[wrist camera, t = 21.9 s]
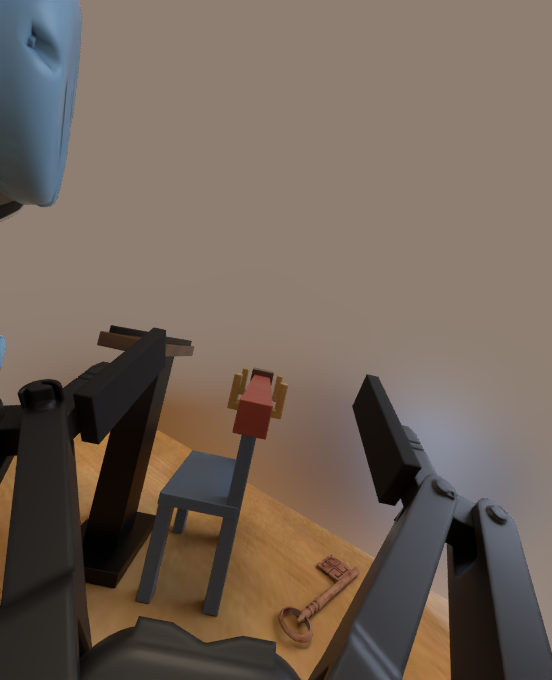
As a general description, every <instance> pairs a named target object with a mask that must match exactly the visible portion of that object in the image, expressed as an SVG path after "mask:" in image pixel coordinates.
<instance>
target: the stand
mask: <svg viewBox="0 0 552 680" xmlns="http://www.w3.org/2000/svg"><path fill="white" fill-rule="evenodd" d="M147 333H148V332H146V331H141V330H135V329H130V328H124V327H118V326H113V325H111V327H110V331H109V332H104V331H101V332H100V335H99V339H98V343H97V345H99V346H104V347H109V348H113V349H118V350H123V351H126V350H127V349H128V348H129V347H131V346H132V345H133V344H134V343H136V342H137V341H138V340H139V339H140V338H142V337H143V336H144V335H145V334H147ZM191 342H192V341H189V340H184V339H178V338H172V337H166V361H165V367H164V368H163V369H162V371H161V372H160V373H159V374H158V375H157V377H156V378H155V379H154V380H153V381H152V382H151V384H150V385H149V386H148V387H147V388H146V389H145V391H144V392H143V393H142V394H141V395H140V397H139V398H138V399H137V400H136V401H135V402H134V404H133V405H132V406H131V407H130V408H129V410H128V411H127V412H126V413H125V414H124V415H123V417H122V418H121V419H120V420H119V421H118V422H117V424H116V425H115V426H114V427H113V428H112V430H111V431H110V435H109V439H108V443H107V447H106V451H105V455H104V459H103V463H102V467H101V471H100V475H99V479H98V483H97V487H96V491H95V495H94V499H93V503H92V507H91V511H90V515H89V518H88V519H87V520H86V521H85V522H84V523H83V524H82V525H81V537H82V550H83V563H84V575H85V582H86V583H91V584H96V585H102V586H107V587H112V588H115V587H116V585H117V584H118V582H119V581H120V579H121V578H122V576H123V574H124V573H125V571H126V570H127V568H128V567H129V565H130V564H131V562H132V561H133V559H134V558H135V556H136V554H137V553H138V551H139V550H140V548H141V547H142V545H143V544H144V542H145V541H146V539H147V537H148V536H149V534H150V533H151V531H152V530H153V526H154V521H155V517H156V515H151V514H146V513H141V512H137V509H138V505H139V500H140V496H141V492H142V488H143V484H144V480H145V475H146V471H147V467H148V463H149V459H150V455H151V451H152V446H153V442H154V438H155V434H156V430H157V426H158V421H159V417H160V413H161V409H162V405H163V401H164V396H165V393H166V388H167V384H168V380H169V376H170V372H171V367H172V363H173V359H174V356H192V354H193V350H194V347H193V346H191Z"/></svg>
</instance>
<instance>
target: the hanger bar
mask: <svg viewBox="0 0 552 680" xmlns="http://www.w3.org/2000/svg"><path fill="white" fill-rule="evenodd" d="M273 374H274V373H273V372H271V371H267V370H263V369H258V368H254V369H253V371H252V376H251V381H250V384H249V385H248V387H247V388H246V390H245V392H244V393H243V395H242V397H241V398H240V401H239V405H238V410H237V414H236V418H235V423H234V427H233V433H237V434H241V435H246V436H251V437H255V438H260V439H266V436H267V431H268V426H269V422H270V418H271V413H272V408H273V405H272V394H271V383H272V379H273Z"/></svg>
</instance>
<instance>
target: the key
mask: <svg viewBox="0 0 552 680" xmlns="http://www.w3.org/2000/svg"><path fill="white" fill-rule="evenodd" d="M328 560H329V561H328ZM322 564H323V565H322ZM338 565H339V566H338ZM317 566H318V567H319V568H321V569H322V570H323V571H325V572H326V573H327V574H328V573H329V572H330V571H331V572H330V573H329V575H330V576H331V577H332V578H333V579H335V580H336V581H337V583H335V584H334V585H333V586H332V587H331V588H329V589H328V590H327V591H326V592H324V593H323V594H322V595H321V596H320V597H318V598H316V599H315V600H314V601H313V602H312V603H311V604H310V606H307V607H306V609H305V610H304V611H303V612H301V611H300V610H298V609H296V608H293V607H285V608H283V609H282V610H281V612H280V614H279V621H280V624H281V627H282V628H283V630H284V632H285V633H286V634H287V635H288V636H289V637H290V638H292V639H293V640H295V641H297V642H302V643H305V642H308V641H309V640H310V639H311V638H312V635H313V630H312V625H311V623H310V621H309V619H308V618H309V617H311V616H312V615H313V613H316V612H317V610H320V609H321V608H322V606H323V605H324V604H325V603H326V602H328V601H329V600H330V599H331V598H332V597H333V596H334V595H335V594H337V593H338V592H339V591H340V590H341V589H342V588H343V587H345V586H346V585H347V584H348V583H349V582H350V581H351V580H352V579H354V578H355V577H356V576H357V575H358V574H359V570H358V569H357V568H353V569H350V568H349V567H348V566H346V565H345V564H344V563H342V564H341V561H339V560H338V559H337V558H335V557H334V556H332V555H330V556H328V557H327V558H325V559H324V560H323V561H321V562H320V563H318V564H317ZM337 566H338V567H337ZM336 567H337V568H336ZM333 569H334V570H333ZM346 570H347V572H346ZM345 572H346V573H345ZM341 575H342V576H341ZM338 577H339V578H338ZM285 614H294V615H296V616H298V620H297V622H305V624H306V625H307V627H308V629H309V632H308V633H307V634H305V635H299V634H297V633H295V632H293V631H292V630H290V629H289V628H288V627H287V625H286V624H285V622H284V620H283V616H284V615H285Z"/></svg>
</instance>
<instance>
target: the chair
mask: <svg viewBox="0 0 552 680" xmlns="http://www.w3.org/2000/svg"><path fill="white" fill-rule="evenodd" d="M248 372H249V369H247V368H243V372H242V374H240V373H236V374H235V375H234V380H233V384H232V389H231V393H230V398H229V402H228V408H230V409H235V410H238V405H239V401H240V400H237V399H238V395H239V394H242V395H243V393H244V392H245V390H246V388H245V386H246V381H247V376H248ZM282 378H283V377H282V376H279V375H277V378H276V383H275V387H274V392H273V394H272V401H274V402H276V405H275V408H272V413H271V417H272V418H277V419H281V416H282V411H283V407H284V402H285V397H286V393H287V388H288V385H287V384H286V383H282ZM255 441H256V438H255V437H251V436H246V435H242V437H241V441H240V445H239V450H238V454H237V459H231V458H226V457H222V456H217V455H212V454H207V453H203V452H198V451H192V452H191V453H190V454H189V456H188V457H187V458H186V460H185V461H184V462H183V464H182V465H181V466H180V467H179V469H178V470H177V471H176V473H175V474H174V475H173V477H172V478H171V479H170V481H169V482H168V483H167V484H166V486H165V487H164V488H163V490H162V491H161V492H160V495H159V499H158V504H159V505H158V509H157V513H156V517H155V521H154V526H153V530H152V534H151V538H150V543H149V547H148V551H147V555H146V559H145V564H144V568H143V572H142V576H141V581H140V585H139V589H138V593H137V597H136V601H138V602H143V603H149V602H150V600H151V598H152V596H153V594H154V591H155V587H156V583H157V578H158V574H159V570H160V566H161V561H162V557H163V553H164V548H165V544H166V540H167V536H168V531H169V527H170V523H171V518H172V514H173V510H174V507H176V508H178V510H177V514H176V518H175V522H174V527H173V531H172V532H175V533H180V534H182V532H183V530H184V528H185V524H186V520H187V516H188V511H189V510H191V511H195V512H200V513H205V514H210V515H215V516H220V517H223V522H222V526H221V531H220V535H219V540H218V544H217V549H216V553H215V558H214V562H213V567H212V571H211V576H210V580H209V585H208V589H207V594H206V598H205V603H204V607H203V612H202V613H204V614H209V615H214V616H217V615H218V610H219V606H220V601H221V596H222V592H223V587H224V583H225V578H226V574H227V569H228V564H229V560H230V555H231V551H232V546H233V542H234V537H235V532H236V528H237V523H238V519H239V514H240V510H241V505H242V501H243V496H244V491H245V487H246V482H247V478H248V473H249V468H250V464H251V459H252V455H253V450H254V445H255Z"/></svg>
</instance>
